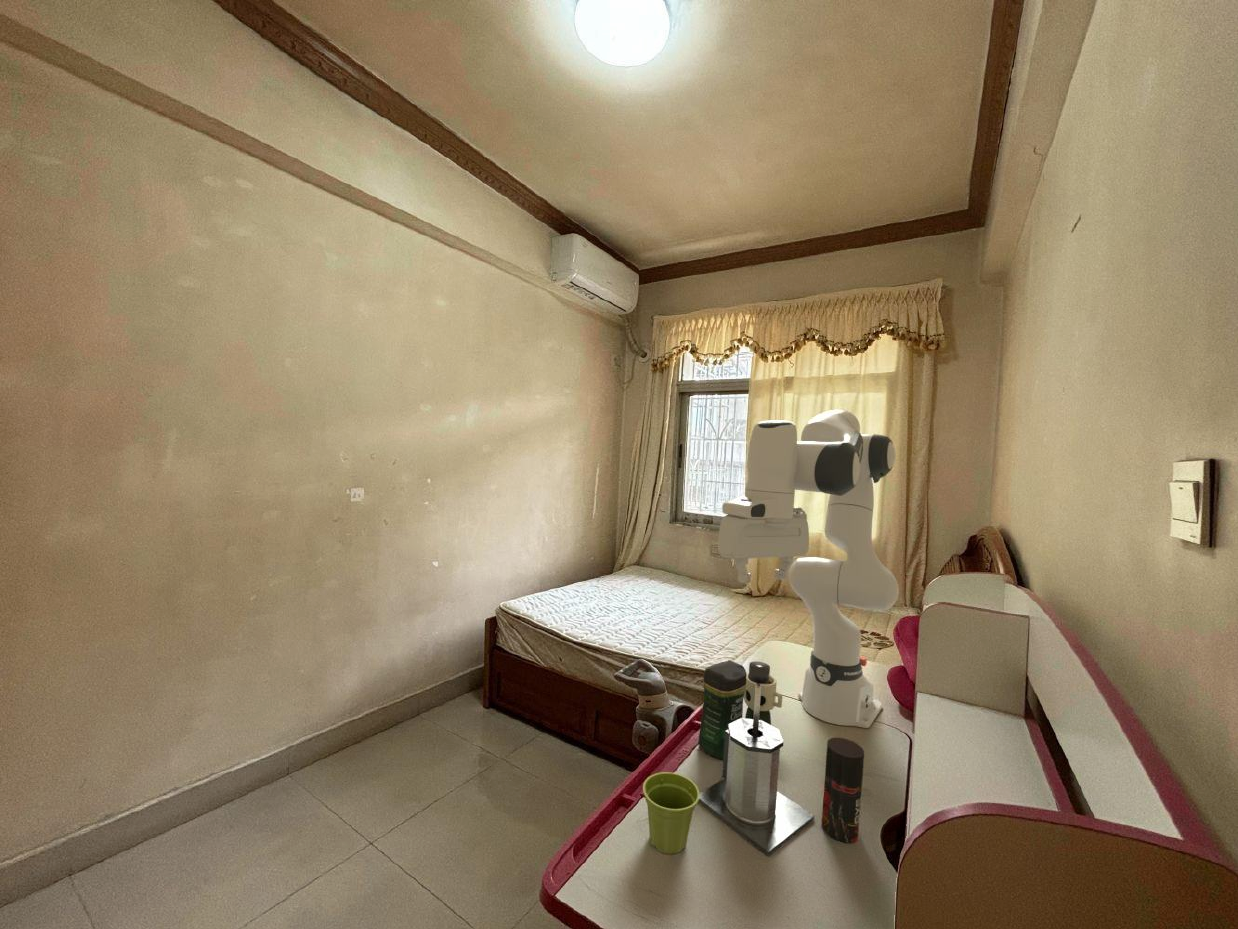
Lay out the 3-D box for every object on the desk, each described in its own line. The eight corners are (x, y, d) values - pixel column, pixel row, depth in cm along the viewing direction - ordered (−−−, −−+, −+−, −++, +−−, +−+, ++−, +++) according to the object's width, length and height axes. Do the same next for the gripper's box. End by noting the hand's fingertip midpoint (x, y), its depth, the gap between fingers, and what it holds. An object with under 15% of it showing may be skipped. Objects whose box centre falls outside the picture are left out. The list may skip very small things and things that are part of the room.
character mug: (728, 728, 119) (732, 674, 118) (743, 717, 124) (746, 666, 124) (772, 749, 112) (776, 691, 111) (785, 736, 117) (789, 681, 116)
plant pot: (639, 817, 89) (642, 769, 89) (693, 821, 89) (696, 773, 88) (640, 860, 80) (643, 807, 79) (699, 865, 79) (702, 812, 79)
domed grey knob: (752, 731, 94) (757, 659, 93) (769, 741, 91) (774, 667, 91) (740, 738, 92) (745, 664, 91) (757, 748, 89) (762, 672, 88)
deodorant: (855, 849, 84) (862, 762, 84) (818, 833, 88) (824, 749, 87) (860, 827, 89) (866, 745, 89) (824, 813, 93) (830, 733, 92)
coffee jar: (721, 765, 105) (727, 678, 104) (692, 746, 111) (697, 664, 110) (748, 748, 112) (753, 666, 111) (719, 732, 117) (724, 653, 117)
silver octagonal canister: (741, 772, 103) (746, 701, 103) (813, 820, 91) (819, 740, 90) (695, 799, 94) (699, 722, 94) (768, 856, 82) (774, 768, 81)
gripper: (793, 505, 101) (788, 573, 101) (715, 503, 91) (709, 579, 91) (820, 509, 96) (814, 581, 96) (740, 508, 86) (734, 588, 86)
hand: (762, 580), depth 94 cm, fingers open, 8 cm apart
